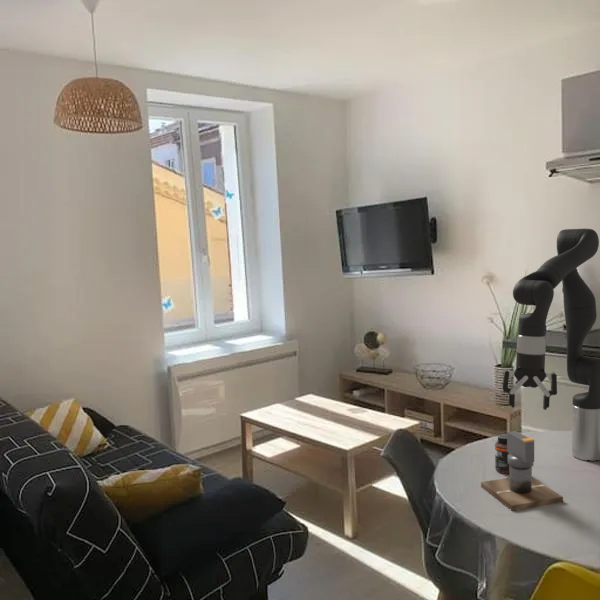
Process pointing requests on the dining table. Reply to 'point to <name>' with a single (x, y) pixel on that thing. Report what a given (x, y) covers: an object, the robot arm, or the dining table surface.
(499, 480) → the base
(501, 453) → the supplement bottle
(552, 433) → the dining table surface
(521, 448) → the wing cap
